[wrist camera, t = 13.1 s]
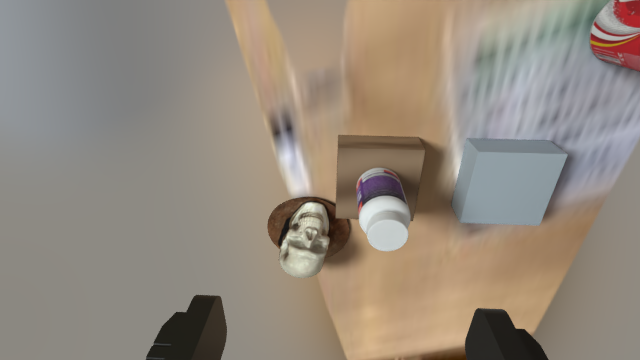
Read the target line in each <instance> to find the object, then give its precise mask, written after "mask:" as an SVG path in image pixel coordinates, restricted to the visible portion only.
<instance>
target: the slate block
mask: <svg viewBox="0 0 640 360" xmlns="http://www.w3.org/2000/svg"><path fill="white" fill-rule="evenodd" d="M567 156H568V154H567V153H566V152H564V151H563V150H561V149H560V148H559V147H557V146H556V145H555V144H553V143H552V142H550V141H548V140H510V139H471V138H467V140H466V144H465V149H464V153H463V157H462V161H461V166H460V170H459V174H458V178H457V183H456V187H455V191H454V195H453V200H452V204H451V206H452V208H453V210H454V212H455V214H456V216H457V218H458V220H459V222H460V223H484V224H513V225H540V223H541V220H542V218H543V215H544V213H545V210H546V208H547V205H548V203H549V201H550V198H551V196H552V193H553V191H554V188H555V186H556V183H557V181H558V178H559V176H560V173H561V171H562V168H563V166H564V163H565V161H566V158H567Z"/></svg>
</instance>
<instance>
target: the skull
mask: <svg viewBox="0 0 640 360" xmlns="http://www.w3.org/2000/svg"><path fill="white" fill-rule="evenodd" d="M346 223H347V224H346ZM268 233H269V236H270V238H271V240H272V241H273V243H274V244H275V245H276V246H277V247H278V248H279V249H280V254H279V262H280V265H281V267H282V269H283V270H285V271H286V272H287V273H288V274H290V275H292V276H294V277H298V278H306V277H311V276H314V275H316V274H317V273H319V272H320V270H321V269H322V266H323V262H324V258H326V257H329V256H331V255H333V254H335V253H337V252H338V251H339V250H341V249H342V248H343V246H344V245H345V243H346V242H347V239H348V236H349V226H348V222H347V220H346V219H342V218H336V207H335V206H333V205H332V204H330V203H328V202H326V201H323V200H321V199H317V198H311V197H307V198H306V197H303V198H302V197H301V198H296V199H291V200H288V201H286V202H284V203H282V204H280V205H279V206H277V207H276V208H275V210H273V212H272V213H271V215H270V217H269V220H268Z"/></svg>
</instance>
